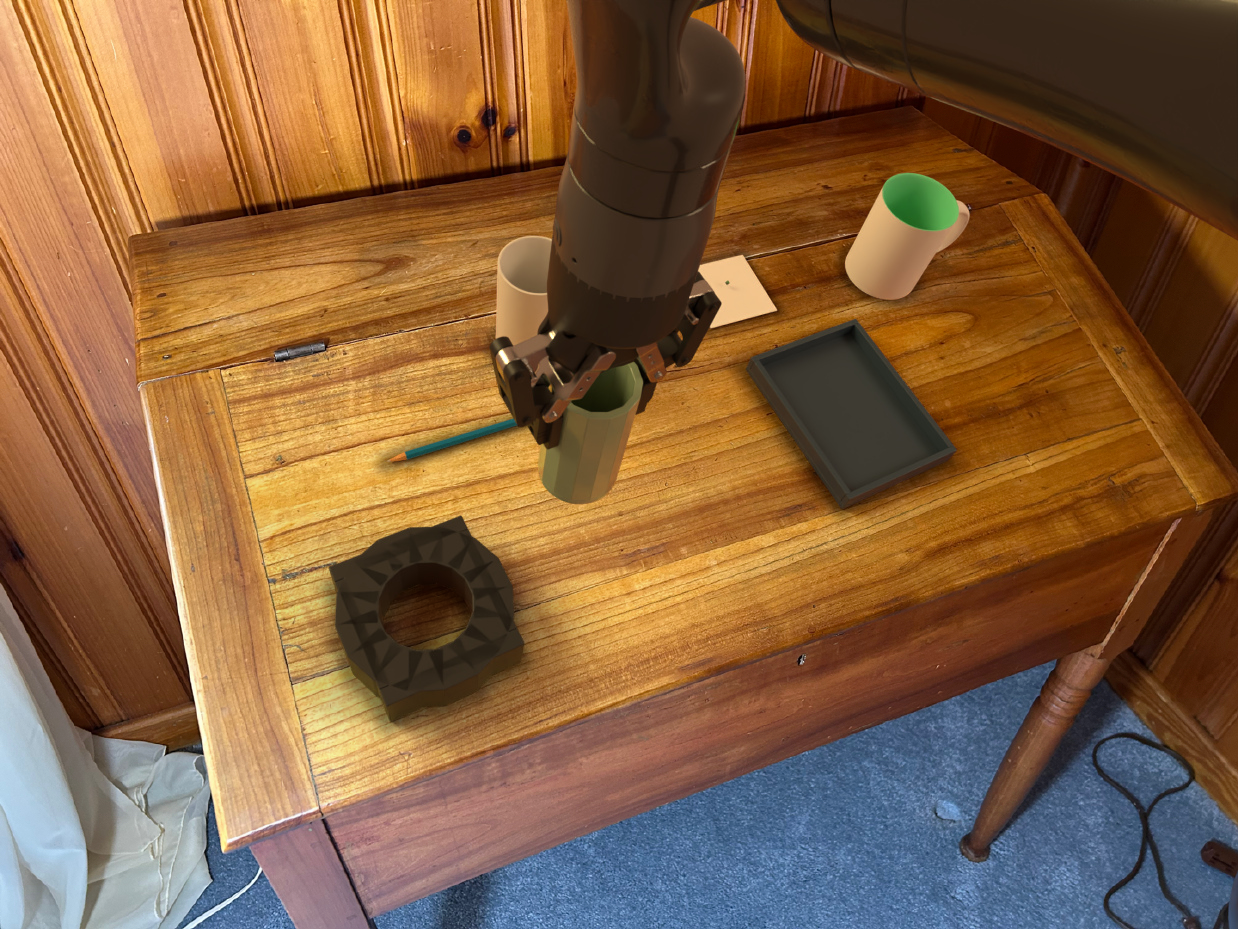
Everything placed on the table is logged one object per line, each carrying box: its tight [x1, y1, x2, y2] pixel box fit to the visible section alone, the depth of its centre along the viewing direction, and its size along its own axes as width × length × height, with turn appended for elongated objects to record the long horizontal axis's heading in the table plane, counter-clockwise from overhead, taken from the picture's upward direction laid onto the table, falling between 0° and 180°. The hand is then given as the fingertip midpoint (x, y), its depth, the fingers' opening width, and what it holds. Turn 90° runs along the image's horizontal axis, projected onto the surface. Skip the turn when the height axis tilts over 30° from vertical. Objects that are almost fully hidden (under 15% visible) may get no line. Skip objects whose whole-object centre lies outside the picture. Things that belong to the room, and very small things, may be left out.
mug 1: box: [495, 235, 552, 373], centre depth 85 cm, size 10×7×12 cm, turn 121°
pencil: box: [386, 417, 518, 463], centre depth 84 cm, size 1×17×1 cm, turn 115°
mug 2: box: [844, 172, 971, 301], centre depth 98 cm, size 12×8×10 cm
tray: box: [745, 318, 958, 510], centre depth 90 cm, size 17×13×2 cm
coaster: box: [698, 254, 778, 329], centre depth 97 cm, size 8×8×1 cm
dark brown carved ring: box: [328, 515, 525, 723], centre depth 72 cm, size 13×13×4 cm
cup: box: [537, 362, 643, 505], centre depth 61 cm, size 6×6×11 cm
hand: (589, 419), depth 60 cm, fingers closed on cup, 5 cm apart
